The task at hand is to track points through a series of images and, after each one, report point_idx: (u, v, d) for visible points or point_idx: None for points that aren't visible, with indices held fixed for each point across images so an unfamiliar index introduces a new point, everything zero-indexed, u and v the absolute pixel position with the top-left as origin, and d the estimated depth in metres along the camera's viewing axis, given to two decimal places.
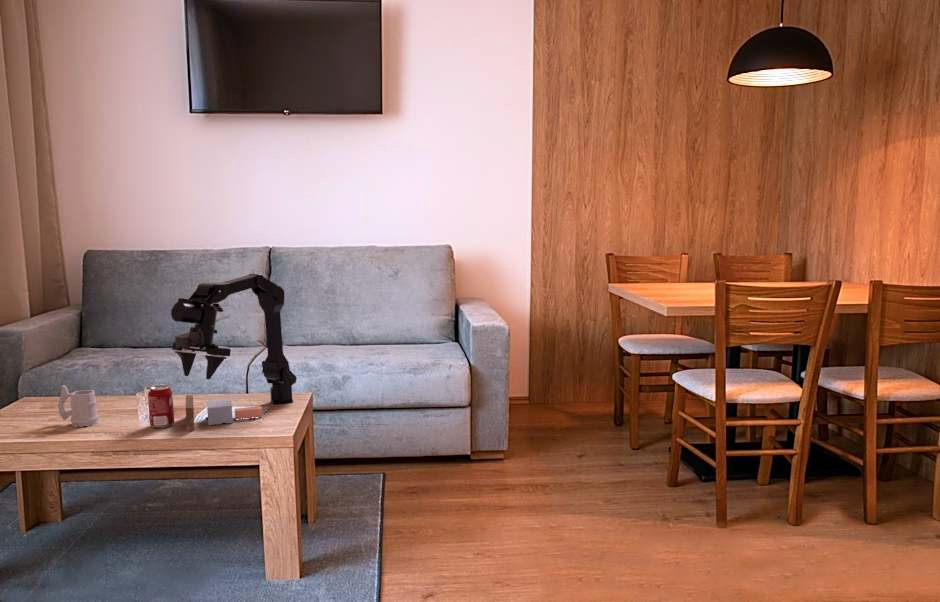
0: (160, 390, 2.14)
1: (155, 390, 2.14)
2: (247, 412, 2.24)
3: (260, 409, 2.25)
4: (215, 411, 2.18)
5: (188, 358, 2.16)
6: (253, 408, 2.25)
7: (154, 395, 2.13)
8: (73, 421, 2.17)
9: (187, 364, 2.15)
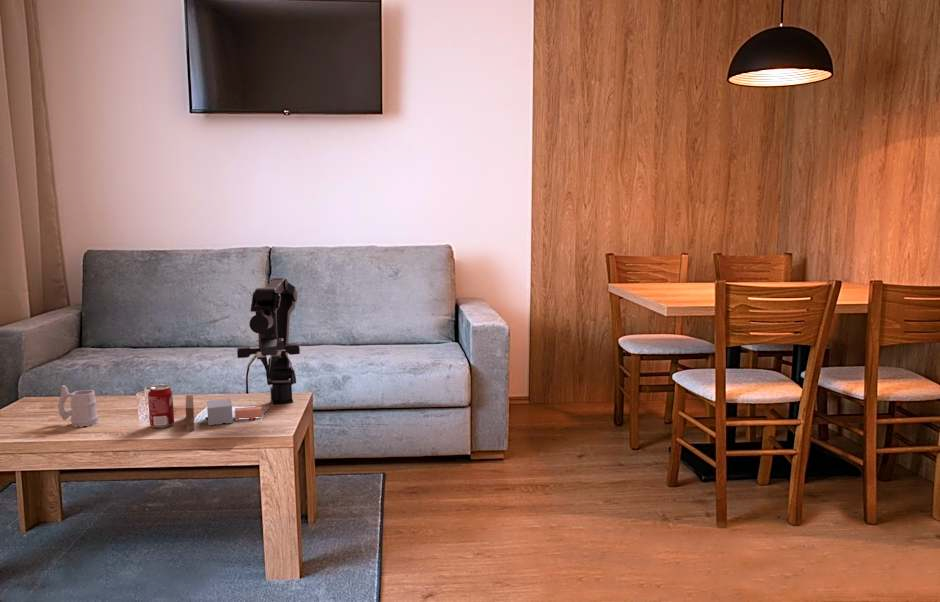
0: (160, 390, 2.14)
1: (155, 390, 2.14)
2: (247, 412, 2.24)
3: (260, 409, 2.25)
4: (215, 411, 2.18)
5: None
6: (253, 408, 2.25)
7: (154, 395, 2.13)
8: (73, 421, 2.17)
9: (268, 366, 2.27)
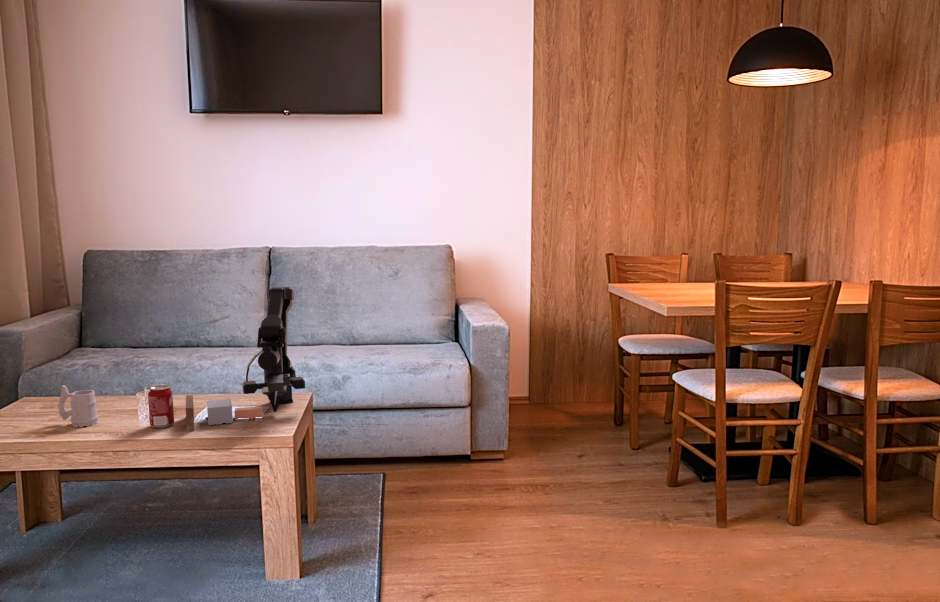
0: (160, 390, 2.14)
1: (155, 390, 2.14)
2: (246, 412, 2.24)
3: (259, 409, 2.25)
4: (215, 411, 2.18)
5: None
6: (253, 408, 2.25)
7: (154, 395, 2.13)
8: (73, 421, 2.17)
9: (273, 401, 2.28)
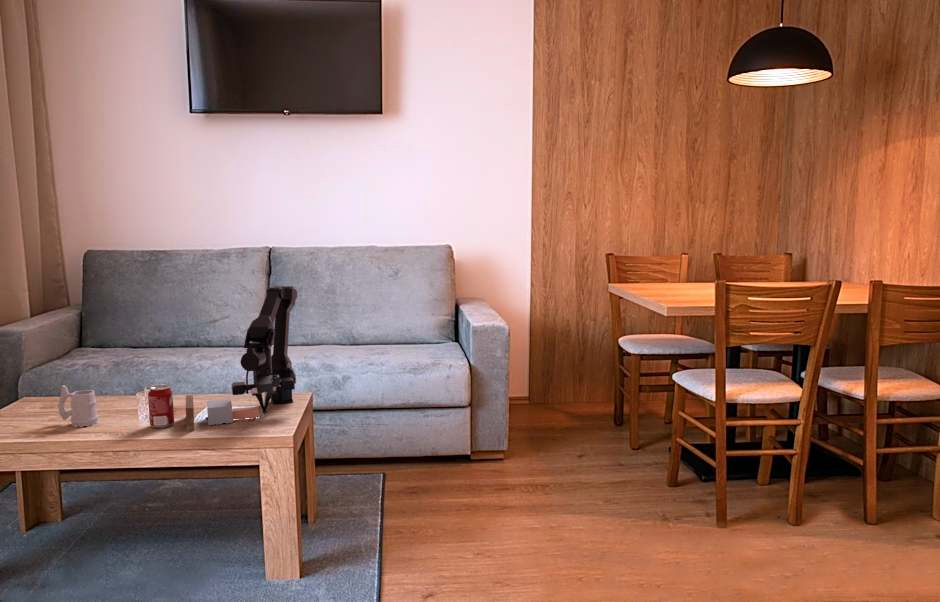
0: (160, 390, 2.14)
1: (155, 390, 2.14)
2: (244, 412, 2.23)
3: (257, 410, 2.24)
4: (215, 411, 2.18)
5: None
6: (250, 408, 2.25)
7: (154, 395, 2.13)
8: (73, 421, 2.17)
9: None
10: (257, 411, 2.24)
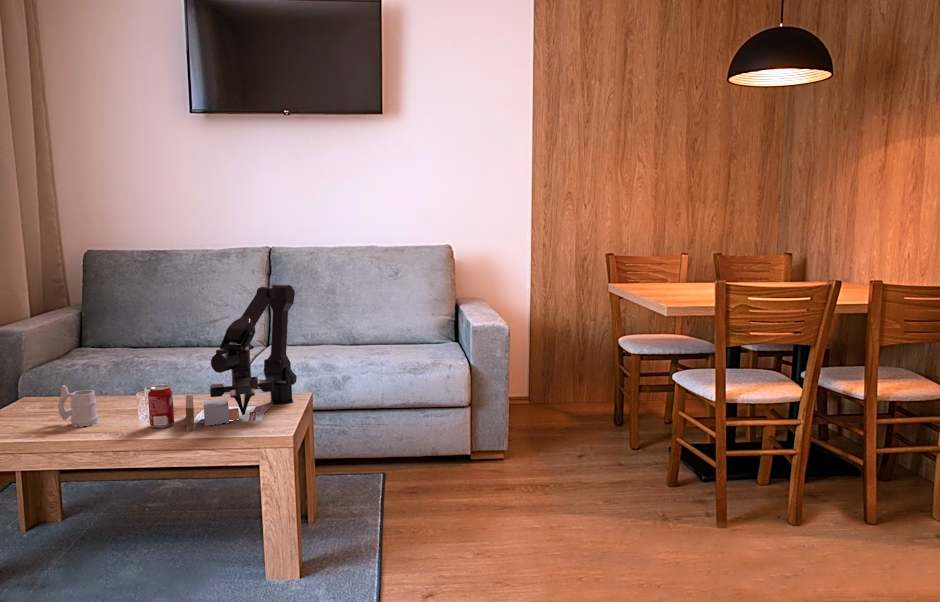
0: (160, 390, 2.14)
1: (155, 390, 2.14)
2: None
3: (237, 411, 2.22)
4: (211, 411, 2.17)
5: None
6: (230, 410, 2.22)
7: (154, 395, 2.13)
8: (73, 421, 2.17)
9: None
10: (237, 412, 2.22)
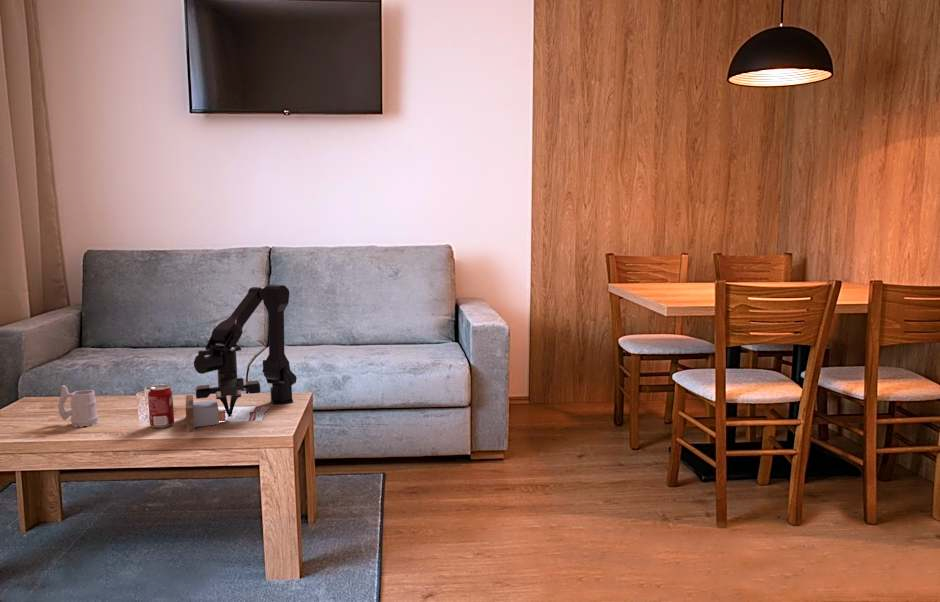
0: (160, 390, 2.14)
1: (155, 390, 2.14)
2: None
3: (223, 413, 2.21)
4: (201, 412, 2.16)
5: None
6: None
7: (154, 395, 2.13)
8: (73, 421, 2.17)
9: None
10: (223, 415, 2.21)
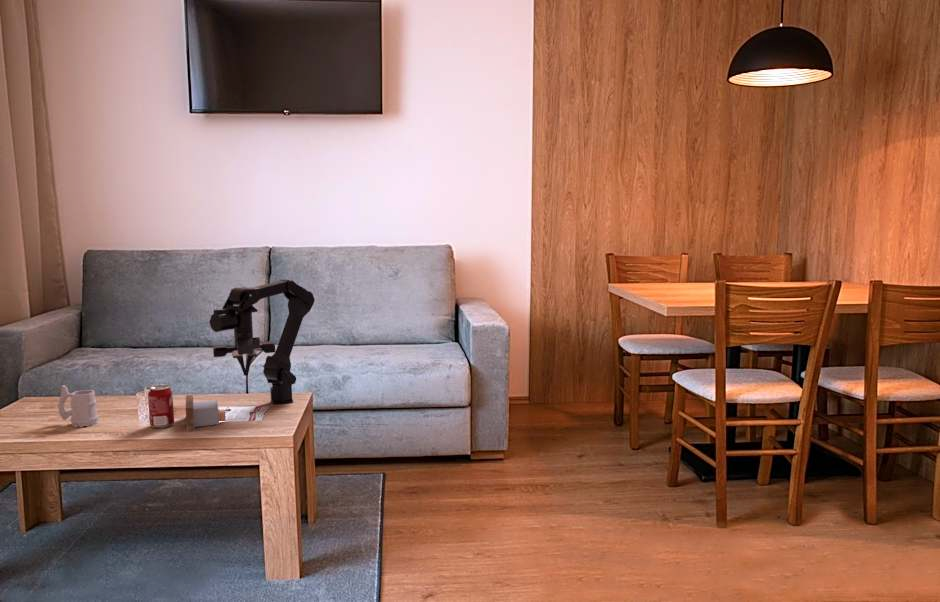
0: (160, 390, 2.14)
1: (155, 390, 2.14)
2: None
3: (223, 413, 2.21)
4: (201, 412, 2.16)
5: None
6: None
7: (154, 395, 2.13)
8: (73, 421, 2.17)
9: None
10: (223, 415, 2.21)
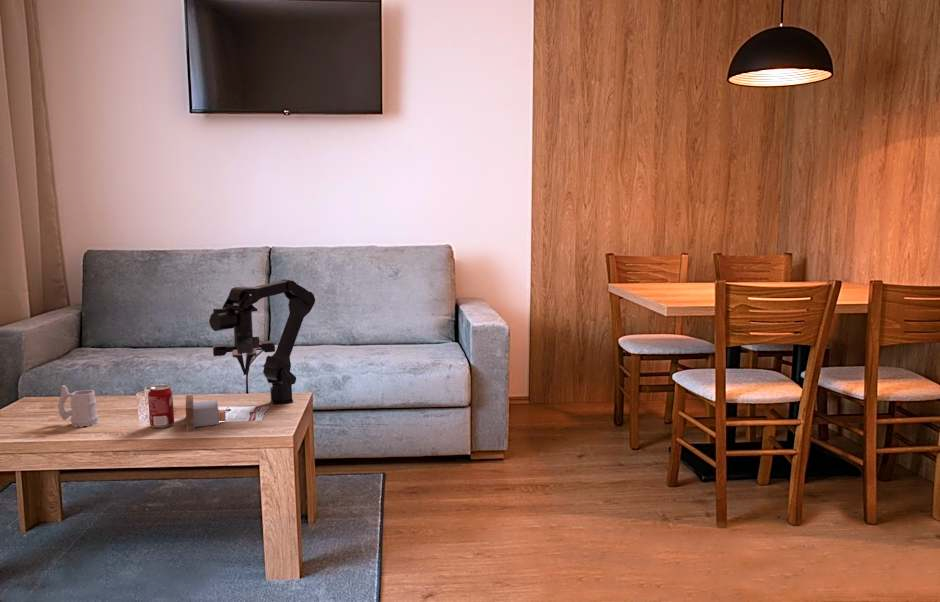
0: (160, 390, 2.14)
1: (155, 390, 2.14)
2: None
3: (223, 413, 2.21)
4: (201, 412, 2.16)
5: None
6: None
7: (154, 395, 2.13)
8: (73, 421, 2.17)
9: (243, 364, 2.31)
10: (223, 415, 2.21)
